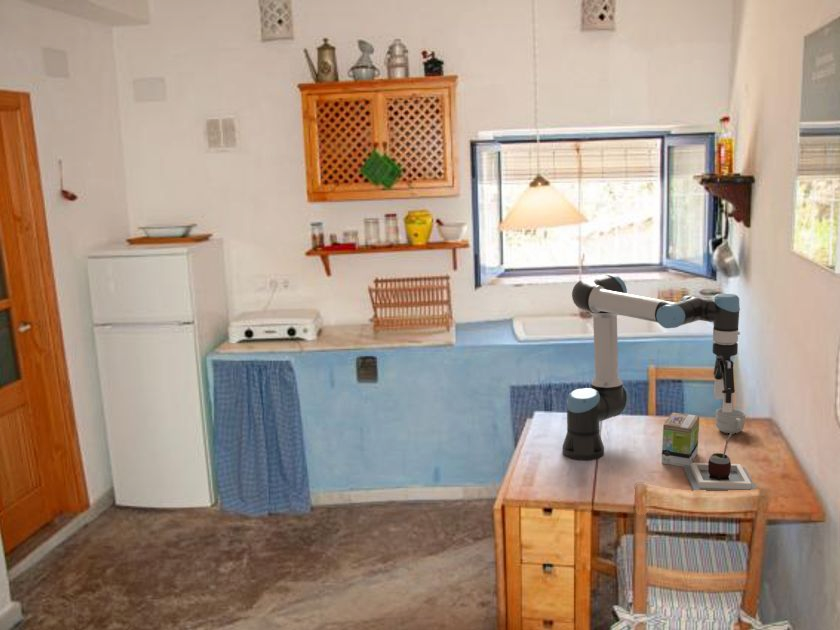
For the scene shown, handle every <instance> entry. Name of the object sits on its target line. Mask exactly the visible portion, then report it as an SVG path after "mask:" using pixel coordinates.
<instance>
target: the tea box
mask: <svg viewBox="0 0 840 630" xmlns="http://www.w3.org/2000/svg"><path fill="white" fill-rule="evenodd" d="M662 425H663V429H662V446H661V463H662V464H665V465H671V466H677V467H682V468H684V466H691V463H693V461H694V459H695V458H696V456H697V454H698V450H699V449H698V447H699V431H700V429H699V428H700V416H699V415H694V414H689V413H688V414H687V413H681V412H671V413H670V415H669V417H668V418H667V419H666V421H665V422H664V424H662Z"/></svg>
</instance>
